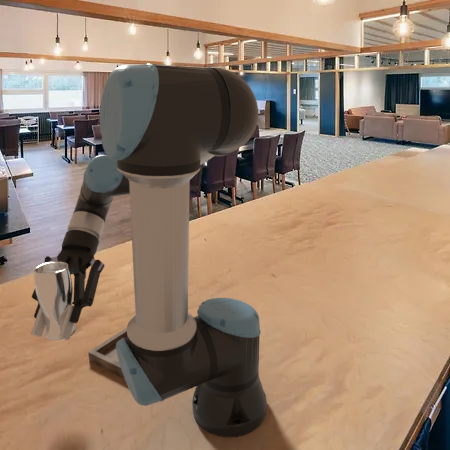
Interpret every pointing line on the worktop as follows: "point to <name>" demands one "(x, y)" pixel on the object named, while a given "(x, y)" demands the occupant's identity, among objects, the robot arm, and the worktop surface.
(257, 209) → the worktop surface
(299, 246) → the worktop surface
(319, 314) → the worktop surface
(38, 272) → the silver metal cup
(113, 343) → the walnut tray
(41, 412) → the worktop surface
